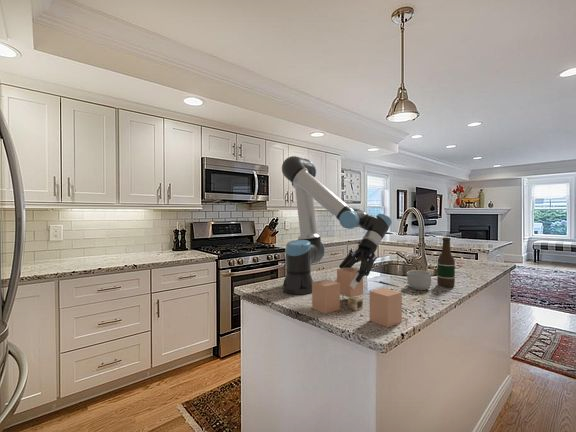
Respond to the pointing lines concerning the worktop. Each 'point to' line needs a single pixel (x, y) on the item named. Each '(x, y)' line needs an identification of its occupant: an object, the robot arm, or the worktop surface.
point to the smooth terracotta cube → (346, 278)
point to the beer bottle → (446, 266)
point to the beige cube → (355, 303)
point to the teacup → (419, 279)
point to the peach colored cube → (326, 296)
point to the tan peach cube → (385, 307)
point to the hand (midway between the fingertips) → (344, 285)
